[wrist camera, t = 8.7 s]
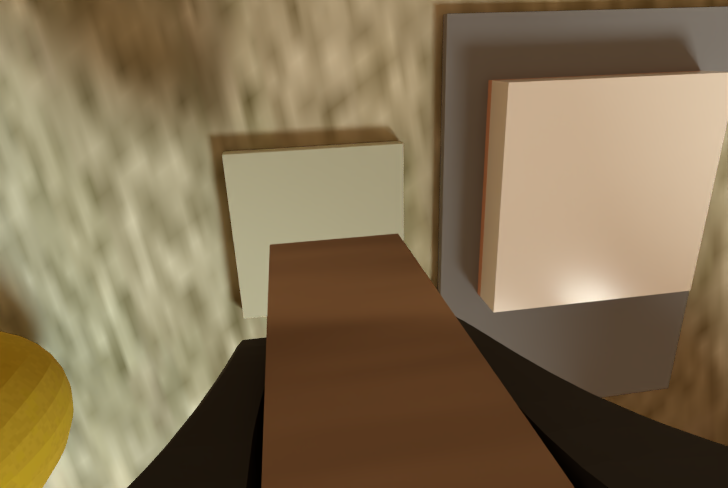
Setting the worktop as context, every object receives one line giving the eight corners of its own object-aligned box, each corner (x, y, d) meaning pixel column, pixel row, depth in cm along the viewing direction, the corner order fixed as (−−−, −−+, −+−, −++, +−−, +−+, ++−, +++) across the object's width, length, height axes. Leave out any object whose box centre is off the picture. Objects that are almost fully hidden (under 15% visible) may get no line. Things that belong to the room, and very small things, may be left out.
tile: (690, 290, 20) (738, 72, 17) (493, 312, 18) (508, 82, 16) (661, 274, 21) (700, 70, 18) (477, 293, 20) (488, 80, 17)
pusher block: (398, 342, 13) (561, 720, 6) (281, 357, 13) (289, 783, 5) (397, 233, 12) (595, 517, 5) (269, 244, 12) (259, 577, 4)
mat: (661, 382, 24) (668, 387, 23) (435, 414, 22) (437, 420, 22) (741, 6, 18) (751, 6, 18) (443, 14, 16) (447, 13, 16)
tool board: (400, 294, 20) (404, 301, 19) (244, 311, 19) (243, 318, 18) (399, 140, 18) (403, 143, 17) (223, 151, 17) (221, 154, 16)
